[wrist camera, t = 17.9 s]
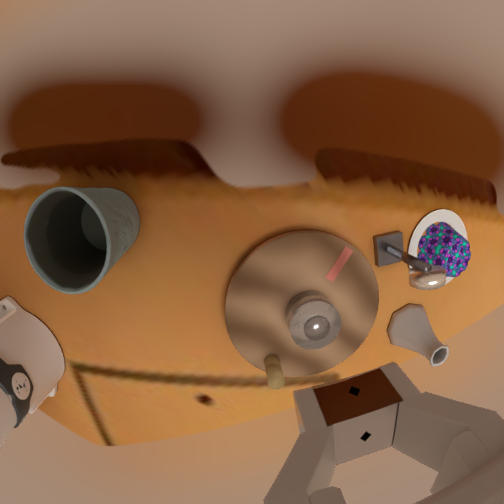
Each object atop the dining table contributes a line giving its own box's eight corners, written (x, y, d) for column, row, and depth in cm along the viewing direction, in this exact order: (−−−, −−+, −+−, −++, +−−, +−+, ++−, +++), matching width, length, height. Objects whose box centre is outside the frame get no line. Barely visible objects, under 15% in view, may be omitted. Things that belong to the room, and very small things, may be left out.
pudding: (421, 196, 39) (443, 201, 34) (473, 223, 40) (494, 229, 35) (393, 276, 41) (412, 289, 36) (448, 293, 43) (467, 305, 38)
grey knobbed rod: (374, 265, 40) (421, 298, 28) (371, 236, 39) (422, 262, 27) (401, 258, 40) (453, 287, 29) (399, 230, 39) (454, 252, 28)
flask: (422, 338, 44) (455, 369, 35) (384, 349, 44) (414, 385, 34) (426, 298, 42) (464, 325, 33) (387, 308, 42) (421, 340, 33)
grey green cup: (147, 259, 38) (116, 295, 26) (78, 261, 37) (31, 293, 26) (142, 178, 35) (105, 181, 24) (71, 185, 35) (17, 192, 23)
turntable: (317, 386, 44) (329, 416, 37) (197, 331, 40) (192, 361, 33) (398, 277, 40) (424, 295, 33) (279, 198, 36) (291, 204, 30)
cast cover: (313, 340, 39) (322, 358, 35) (275, 321, 38) (280, 339, 34) (340, 303, 38) (352, 318, 34) (302, 281, 37) (311, 295, 33)
